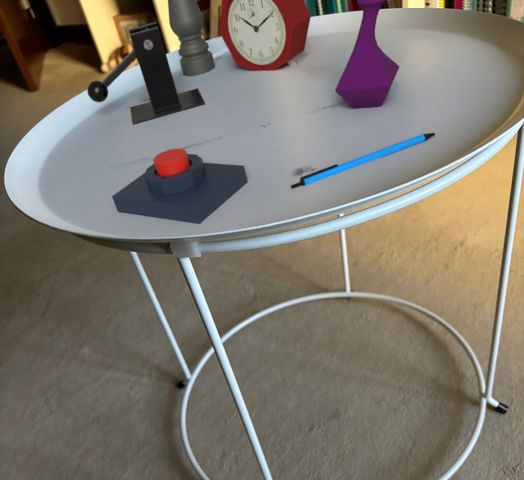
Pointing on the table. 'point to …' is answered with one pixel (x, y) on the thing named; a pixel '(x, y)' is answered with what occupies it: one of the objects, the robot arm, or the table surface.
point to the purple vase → (367, 65)
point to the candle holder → (190, 37)
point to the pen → (361, 160)
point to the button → (171, 162)
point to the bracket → (158, 78)
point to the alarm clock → (264, 31)
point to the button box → (182, 191)
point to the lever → (109, 79)
